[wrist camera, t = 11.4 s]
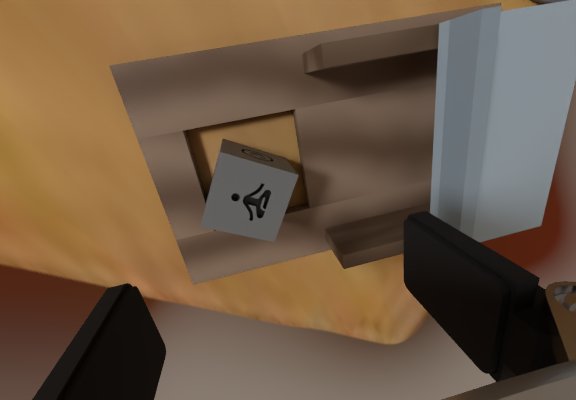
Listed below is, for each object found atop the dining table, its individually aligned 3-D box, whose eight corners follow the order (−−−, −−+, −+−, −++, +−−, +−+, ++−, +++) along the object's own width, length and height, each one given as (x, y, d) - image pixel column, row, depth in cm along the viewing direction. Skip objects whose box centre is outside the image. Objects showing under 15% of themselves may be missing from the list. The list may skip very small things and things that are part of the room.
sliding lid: (439, 23, 15) (482, 9, 12) (578, 0, 16) (645, -18, 13) (428, 248, 21) (455, 270, 18) (530, 221, 22) (570, 238, 19)
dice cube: (266, 212, 23) (274, 242, 19) (207, 198, 22) (200, 226, 17) (284, 157, 22) (298, 174, 17) (222, 138, 20) (220, 151, 16)
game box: (115, 67, 17) (70, 57, 13) (489, 6, 20) (568, -20, 16) (194, 277, 24) (185, 323, 19) (466, 208, 27) (518, 234, 22)
